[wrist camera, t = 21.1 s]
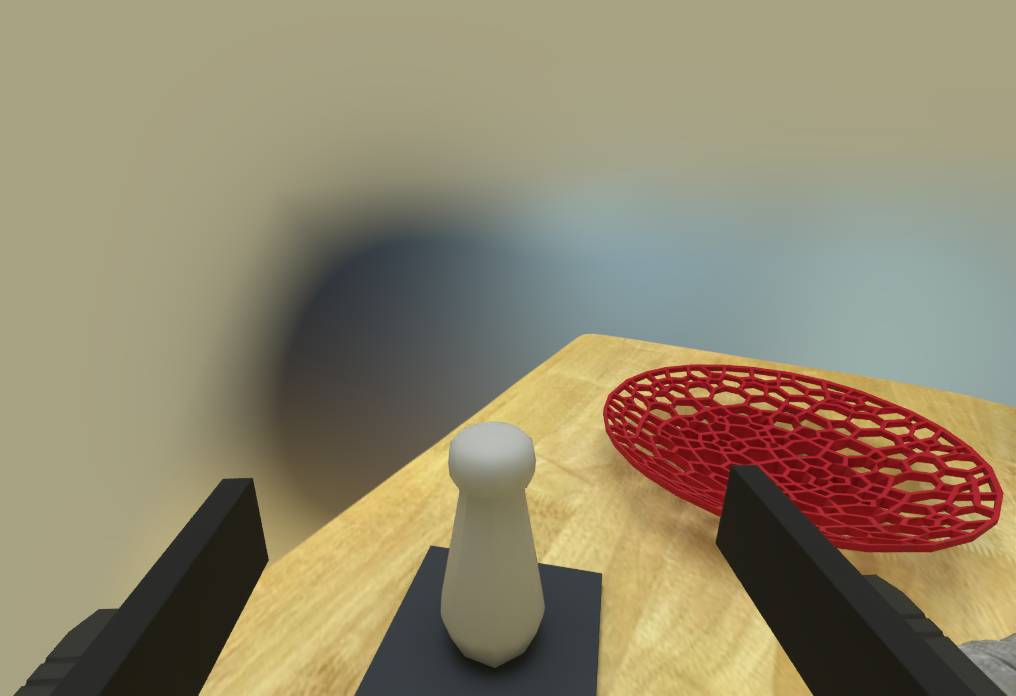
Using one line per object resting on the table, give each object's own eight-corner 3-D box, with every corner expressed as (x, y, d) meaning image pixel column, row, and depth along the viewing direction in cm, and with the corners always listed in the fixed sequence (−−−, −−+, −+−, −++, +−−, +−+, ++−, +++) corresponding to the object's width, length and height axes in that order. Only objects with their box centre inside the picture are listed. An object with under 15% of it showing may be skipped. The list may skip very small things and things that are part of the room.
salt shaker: (420, 644, 28) (405, 441, 23) (482, 578, 32) (479, 398, 28) (506, 704, 25) (507, 484, 20) (562, 623, 29) (572, 427, 25)
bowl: (1097, 576, 34) (1129, 515, 32) (704, 644, 29) (717, 577, 27) (791, 394, 61) (800, 356, 59) (562, 413, 56) (564, 373, 54)
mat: (345, 731, 24) (342, 717, 24) (431, 556, 35) (430, 545, 35) (590, 792, 22) (592, 778, 22) (601, 584, 33) (602, 573, 33)
